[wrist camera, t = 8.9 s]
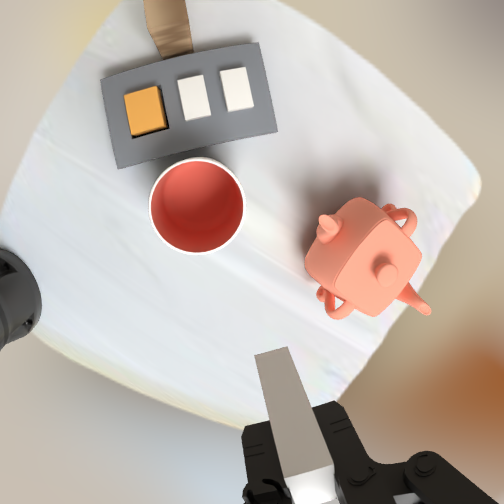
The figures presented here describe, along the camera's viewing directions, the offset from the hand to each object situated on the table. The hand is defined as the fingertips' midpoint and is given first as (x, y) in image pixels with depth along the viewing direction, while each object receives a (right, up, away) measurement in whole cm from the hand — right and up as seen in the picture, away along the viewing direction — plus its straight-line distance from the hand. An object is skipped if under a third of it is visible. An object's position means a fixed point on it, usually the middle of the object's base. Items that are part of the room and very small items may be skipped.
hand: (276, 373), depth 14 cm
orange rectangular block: (-14, +23, +22) cm, 35 cm away
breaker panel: (-9, +24, +24) cm, 35 cm away
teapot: (+13, +7, +32) cm, 35 cm away
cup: (-8, +13, +28) cm, 32 cm away
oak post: (-11, +33, +21) cm, 40 cm away
